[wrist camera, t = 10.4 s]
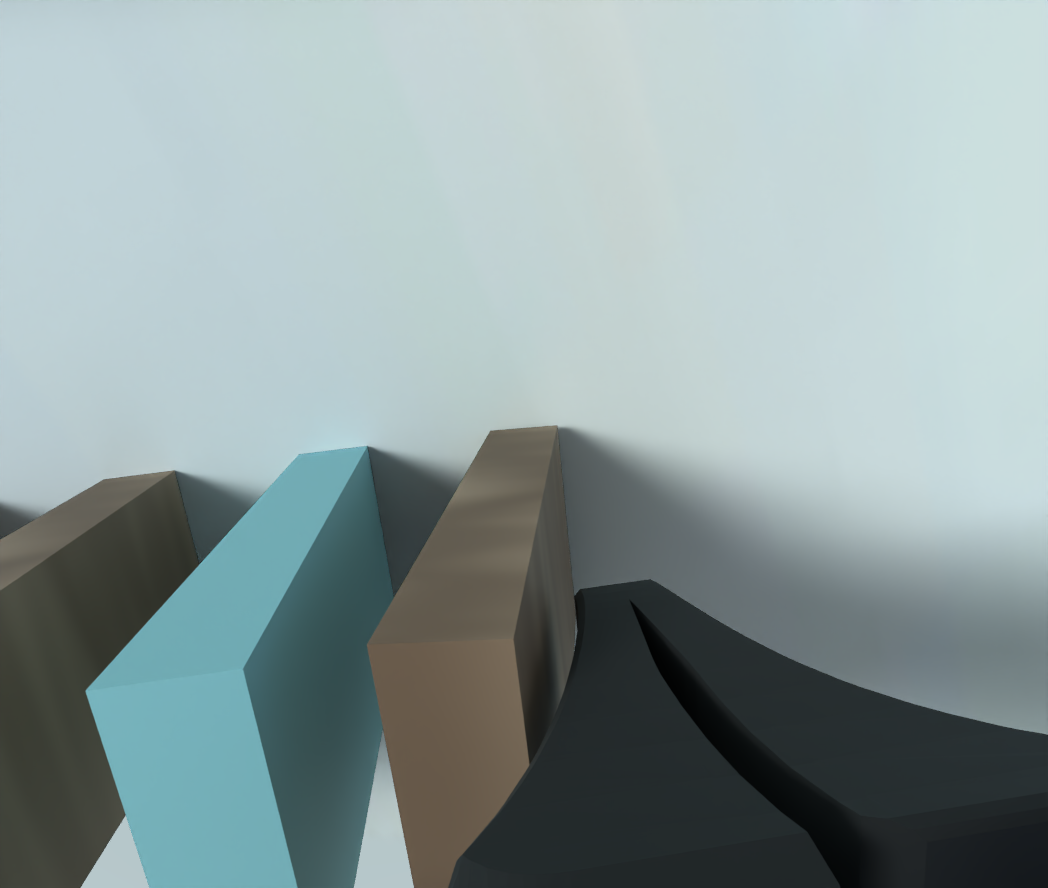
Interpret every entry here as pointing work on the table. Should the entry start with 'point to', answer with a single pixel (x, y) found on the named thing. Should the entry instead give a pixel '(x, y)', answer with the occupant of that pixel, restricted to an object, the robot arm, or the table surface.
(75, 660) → the domino
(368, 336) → the table surface
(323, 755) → the domino
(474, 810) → the domino
